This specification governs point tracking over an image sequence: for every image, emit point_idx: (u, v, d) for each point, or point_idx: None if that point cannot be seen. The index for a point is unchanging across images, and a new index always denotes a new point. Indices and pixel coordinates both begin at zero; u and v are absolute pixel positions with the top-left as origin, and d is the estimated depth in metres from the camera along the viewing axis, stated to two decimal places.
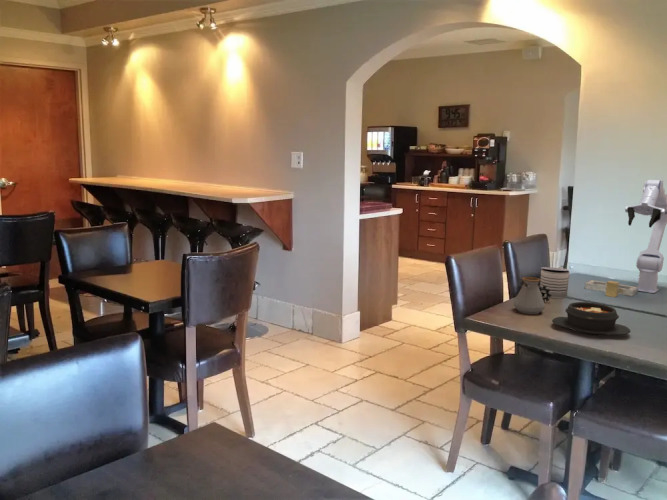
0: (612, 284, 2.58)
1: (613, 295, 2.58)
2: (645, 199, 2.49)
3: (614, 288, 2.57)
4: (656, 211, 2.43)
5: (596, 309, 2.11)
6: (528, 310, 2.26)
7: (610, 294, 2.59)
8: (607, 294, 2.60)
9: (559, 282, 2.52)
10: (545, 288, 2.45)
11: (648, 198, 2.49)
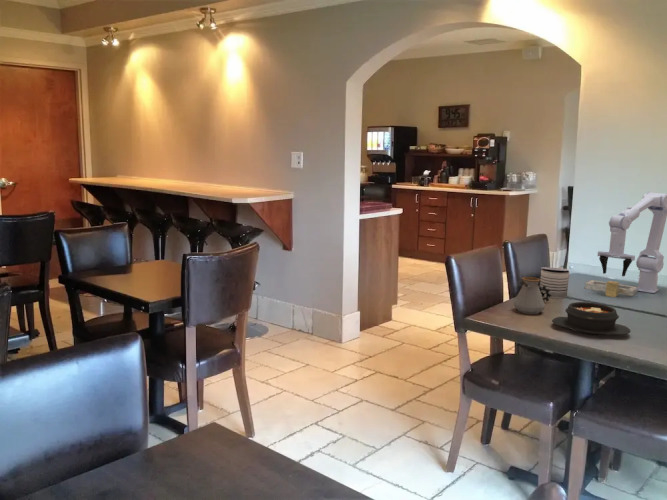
0: (612, 284, 2.58)
1: (613, 295, 2.58)
2: (614, 247, 2.55)
3: (614, 288, 2.57)
4: (626, 263, 2.53)
5: (596, 309, 2.11)
6: (528, 310, 2.26)
7: (610, 294, 2.59)
8: (607, 294, 2.60)
9: (559, 282, 2.52)
10: (545, 288, 2.45)
11: (616, 246, 2.54)
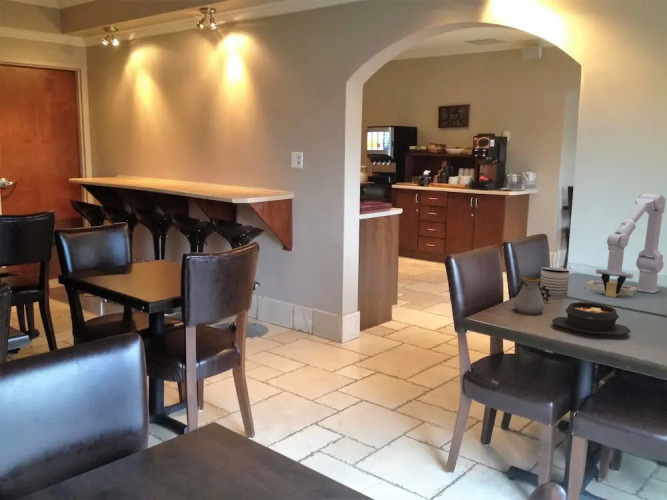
0: (612, 284, 2.58)
1: (613, 295, 2.58)
2: (612, 266, 2.56)
3: (614, 288, 2.57)
4: (620, 281, 2.55)
5: (596, 309, 2.11)
6: (528, 310, 2.26)
7: (610, 294, 2.59)
8: (607, 294, 2.60)
9: (559, 282, 2.52)
10: (545, 288, 2.45)
11: (614, 264, 2.56)
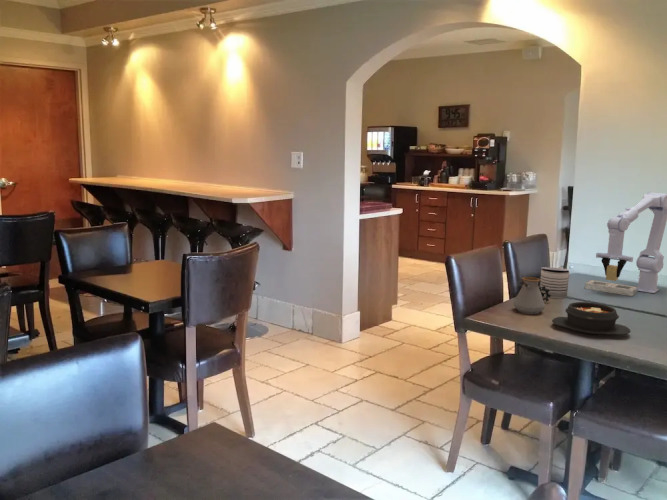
0: (612, 268, 2.58)
1: (613, 279, 2.58)
2: (612, 249, 2.57)
3: (614, 272, 2.58)
4: (620, 264, 2.56)
5: (596, 309, 2.11)
6: (528, 310, 2.26)
7: (610, 278, 2.59)
8: (607, 278, 2.60)
9: (559, 282, 2.52)
10: (544, 288, 2.45)
11: (615, 248, 2.56)
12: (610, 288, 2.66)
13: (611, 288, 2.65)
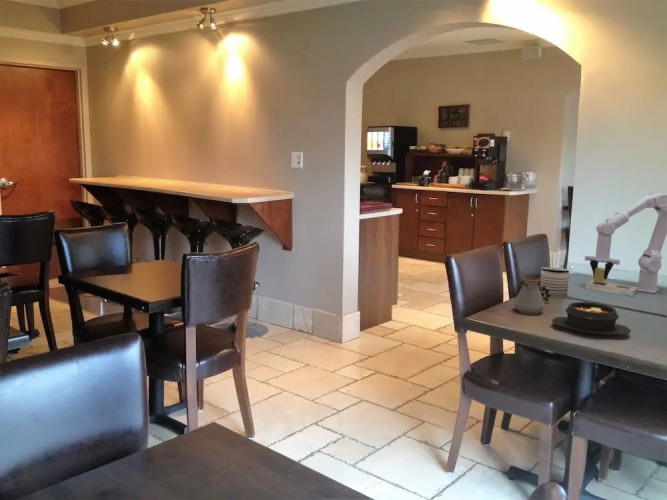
0: (600, 270, 2.70)
1: (601, 281, 2.70)
2: (600, 252, 2.68)
3: (602, 274, 2.69)
4: (608, 267, 2.67)
5: (596, 309, 2.11)
6: (528, 310, 2.26)
7: (598, 280, 2.71)
8: (595, 280, 2.71)
9: (559, 282, 2.52)
10: (544, 288, 2.45)
11: (602, 251, 2.68)
12: (610, 288, 2.66)
13: (611, 288, 2.65)
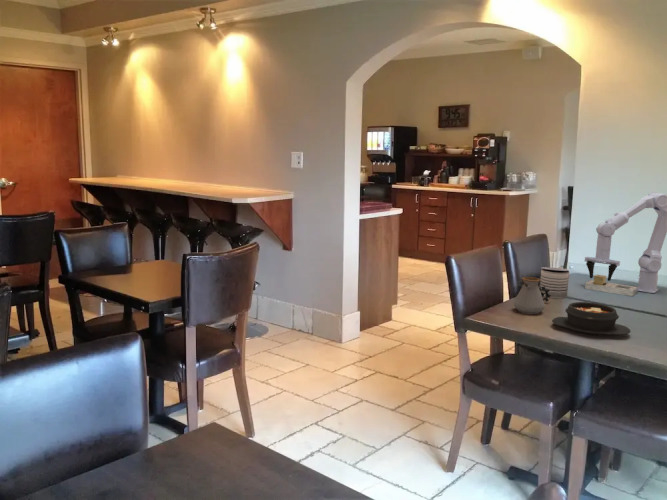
0: (599, 278, 2.70)
1: None
2: (600, 253, 2.68)
3: (601, 281, 2.70)
4: (611, 268, 2.66)
5: (596, 309, 2.11)
6: (528, 310, 2.26)
7: None
8: None
9: (559, 282, 2.52)
10: (544, 288, 2.45)
11: (602, 252, 2.68)
12: (610, 288, 2.66)
13: (611, 288, 2.65)
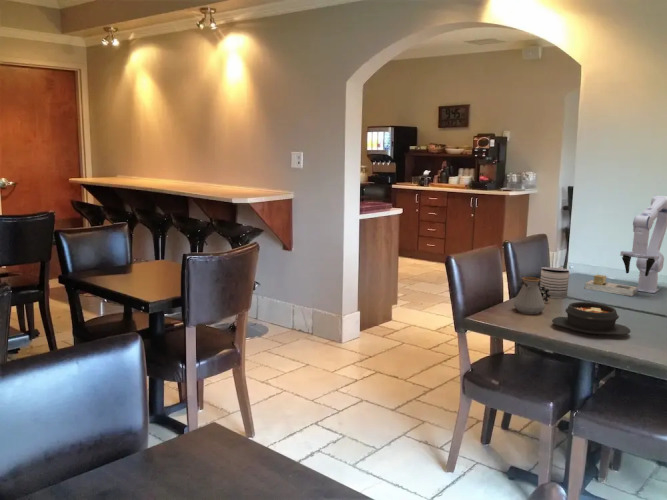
0: (599, 278, 2.70)
1: None
2: (637, 247, 2.56)
3: (601, 281, 2.70)
4: (649, 263, 2.54)
5: (596, 309, 2.11)
6: (528, 310, 2.26)
7: None
8: None
9: (559, 282, 2.52)
10: (544, 288, 2.45)
11: (639, 246, 2.56)
12: (610, 288, 2.66)
13: (611, 288, 2.65)
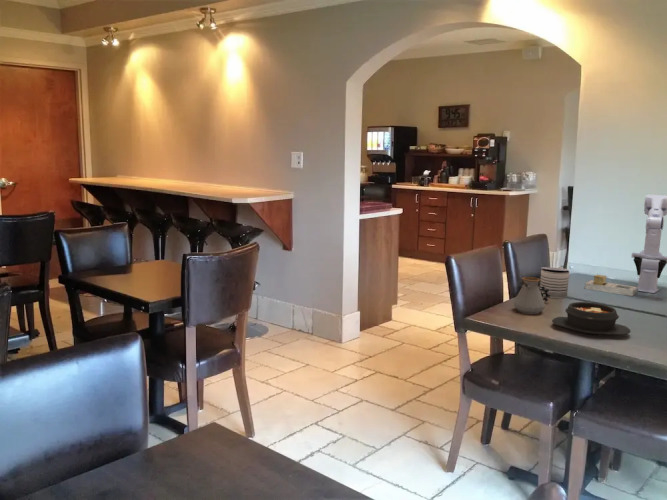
0: (599, 278, 2.70)
1: None
2: (649, 249, 2.53)
3: (601, 281, 2.70)
4: (661, 265, 2.51)
5: (596, 309, 2.11)
6: (528, 310, 2.26)
7: None
8: None
9: (559, 282, 2.52)
10: (544, 288, 2.45)
11: (651, 247, 2.52)
12: (610, 288, 2.66)
13: (611, 288, 2.65)
